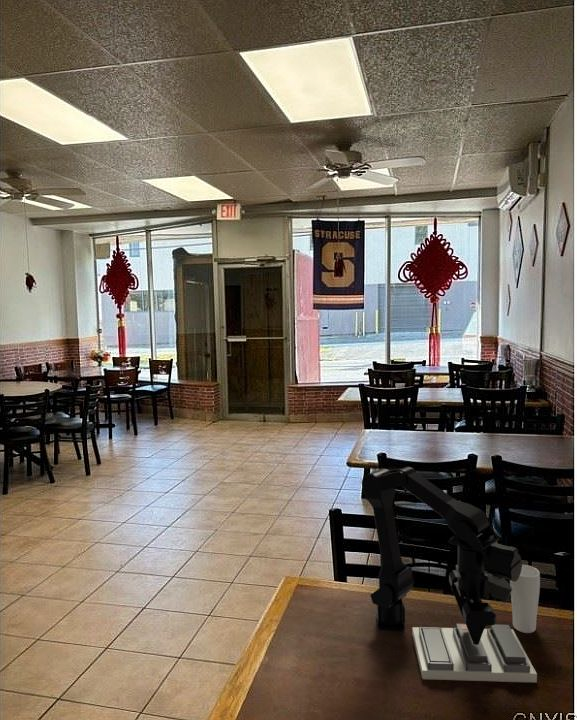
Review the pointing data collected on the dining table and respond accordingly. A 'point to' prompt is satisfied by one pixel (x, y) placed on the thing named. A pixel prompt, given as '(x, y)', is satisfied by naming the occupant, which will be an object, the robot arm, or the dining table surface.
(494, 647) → the switch panel base
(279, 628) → the dining table surface
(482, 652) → the button middle
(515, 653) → the button right
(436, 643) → the button left
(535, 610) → the drinking glass
